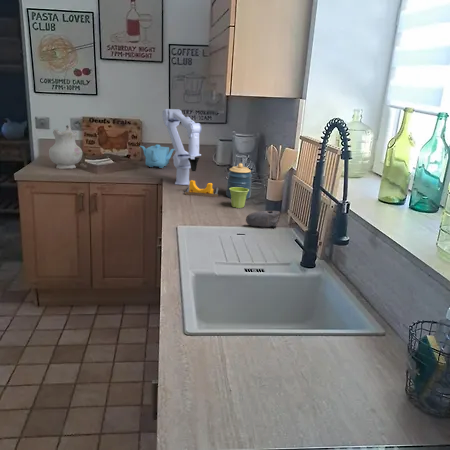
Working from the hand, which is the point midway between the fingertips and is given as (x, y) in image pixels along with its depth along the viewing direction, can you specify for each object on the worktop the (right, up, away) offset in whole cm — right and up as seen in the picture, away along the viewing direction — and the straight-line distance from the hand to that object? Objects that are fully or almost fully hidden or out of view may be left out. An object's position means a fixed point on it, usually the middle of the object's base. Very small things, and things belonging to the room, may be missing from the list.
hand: (193, 171), depth 253 cm
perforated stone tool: (+33, -30, -55) cm, 71 cm away
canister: (+24, -15, -9) cm, 29 cm away
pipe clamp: (+4, -13, -8) cm, 16 cm away
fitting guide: (+5, -12, -5) cm, 14 cm away
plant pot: (+23, -21, -28) cm, 42 cm away
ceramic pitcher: (-81, +6, +35) cm, 89 cm away
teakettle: (-28, +8, +52) cm, 60 cm away
